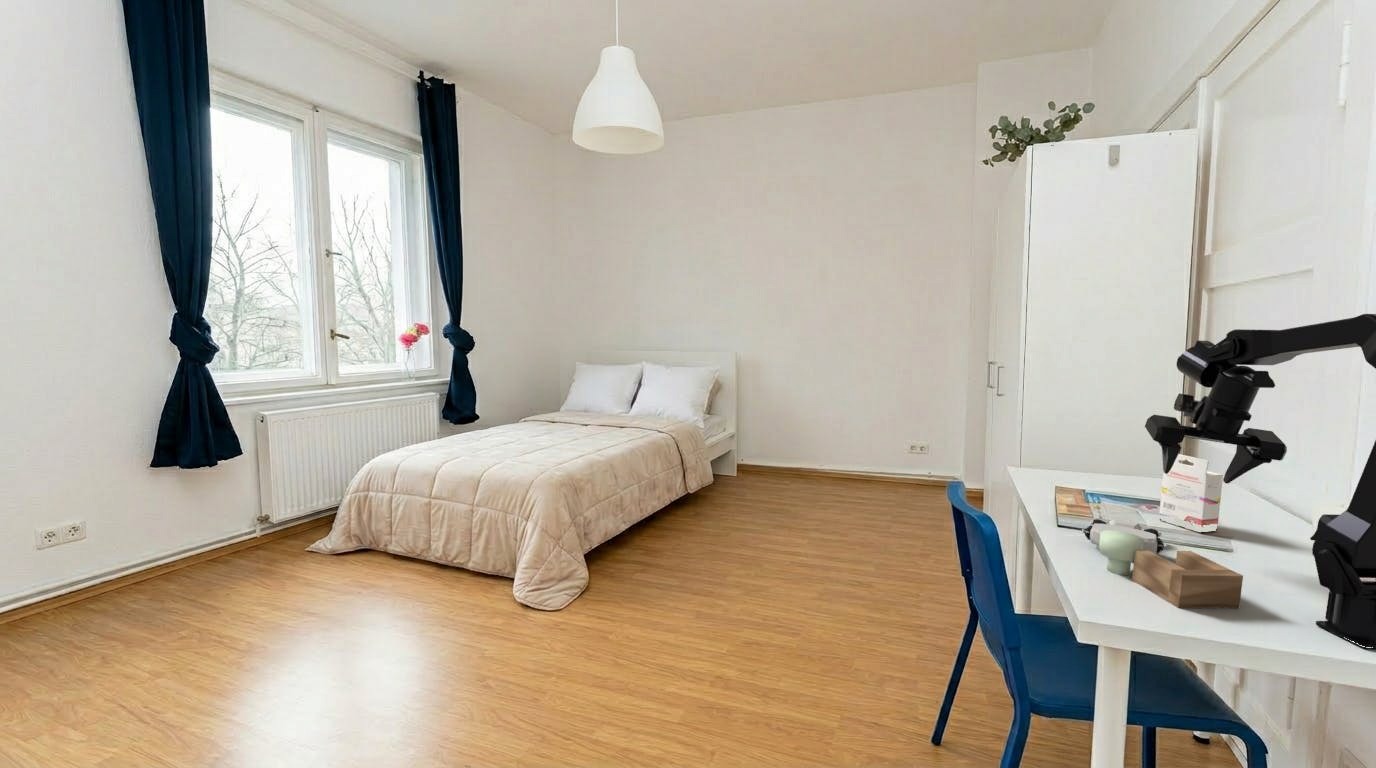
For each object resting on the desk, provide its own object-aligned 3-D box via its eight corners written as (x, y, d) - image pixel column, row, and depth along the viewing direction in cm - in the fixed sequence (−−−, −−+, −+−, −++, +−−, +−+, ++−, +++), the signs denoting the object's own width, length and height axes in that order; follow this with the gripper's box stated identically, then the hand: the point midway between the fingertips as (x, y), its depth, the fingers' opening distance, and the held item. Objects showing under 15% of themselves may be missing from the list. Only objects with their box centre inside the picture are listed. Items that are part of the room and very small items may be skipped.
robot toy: (1086, 534, 126) (1079, 551, 114) (1088, 511, 125) (1081, 526, 113) (1163, 548, 118) (1164, 568, 106) (1165, 524, 118) (1167, 542, 106)
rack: (1239, 608, 92) (1243, 575, 92) (1178, 607, 92) (1182, 575, 92) (1187, 580, 102) (1190, 550, 101) (1132, 580, 102) (1135, 550, 101)
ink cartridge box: (1218, 532, 125) (1227, 459, 123) (1200, 534, 124) (1209, 460, 122) (1174, 518, 133) (1181, 450, 132) (1157, 520, 132) (1164, 451, 130)
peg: (1149, 579, 102) (1153, 543, 101) (1112, 578, 102) (1116, 543, 101) (1123, 564, 108) (1126, 530, 107) (1088, 563, 108) (1092, 530, 107)
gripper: (1273, 388, 110) (1237, 462, 117) (1150, 372, 115) (1123, 445, 122) (1306, 418, 101) (1265, 497, 108) (1171, 399, 106) (1140, 476, 113)
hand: (1194, 477), depth 113 cm, fingers open, 9 cm apart
